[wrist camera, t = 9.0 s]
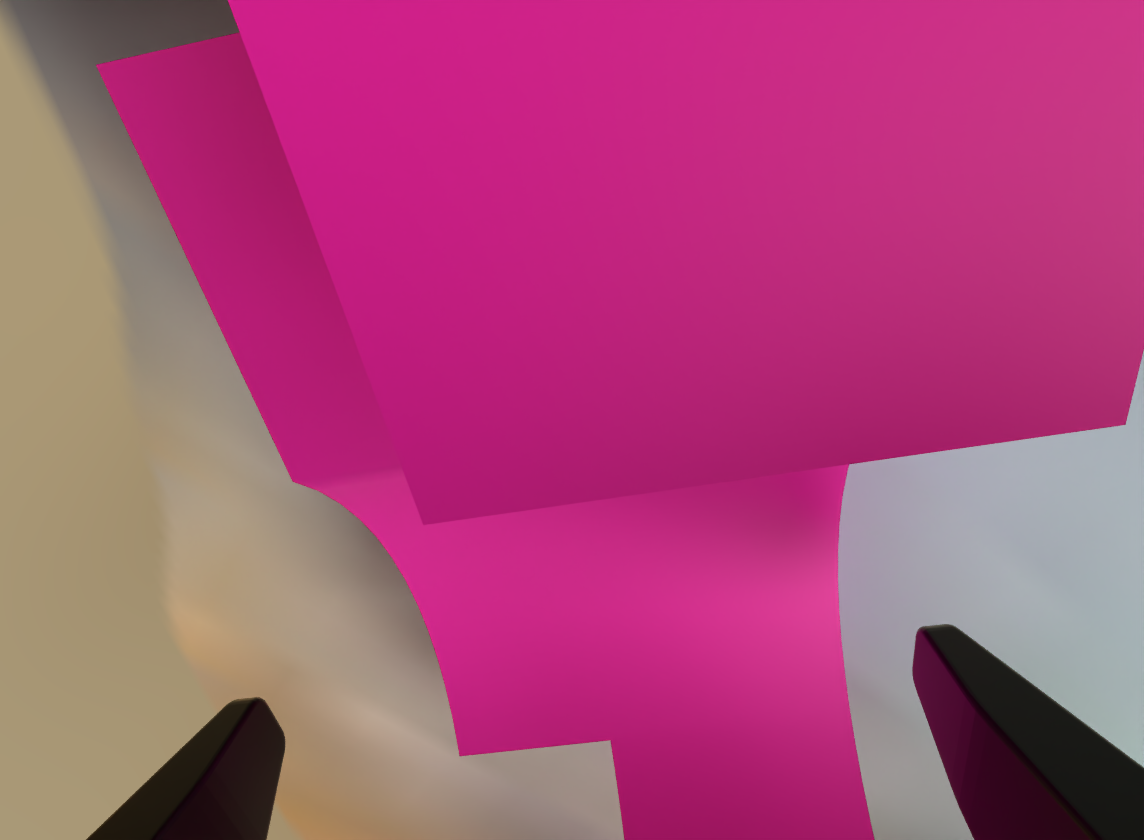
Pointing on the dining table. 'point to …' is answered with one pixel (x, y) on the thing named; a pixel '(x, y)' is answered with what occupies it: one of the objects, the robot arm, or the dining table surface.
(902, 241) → the toy block
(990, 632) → the dining table surface
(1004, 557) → the dining table surface
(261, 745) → the robot arm
